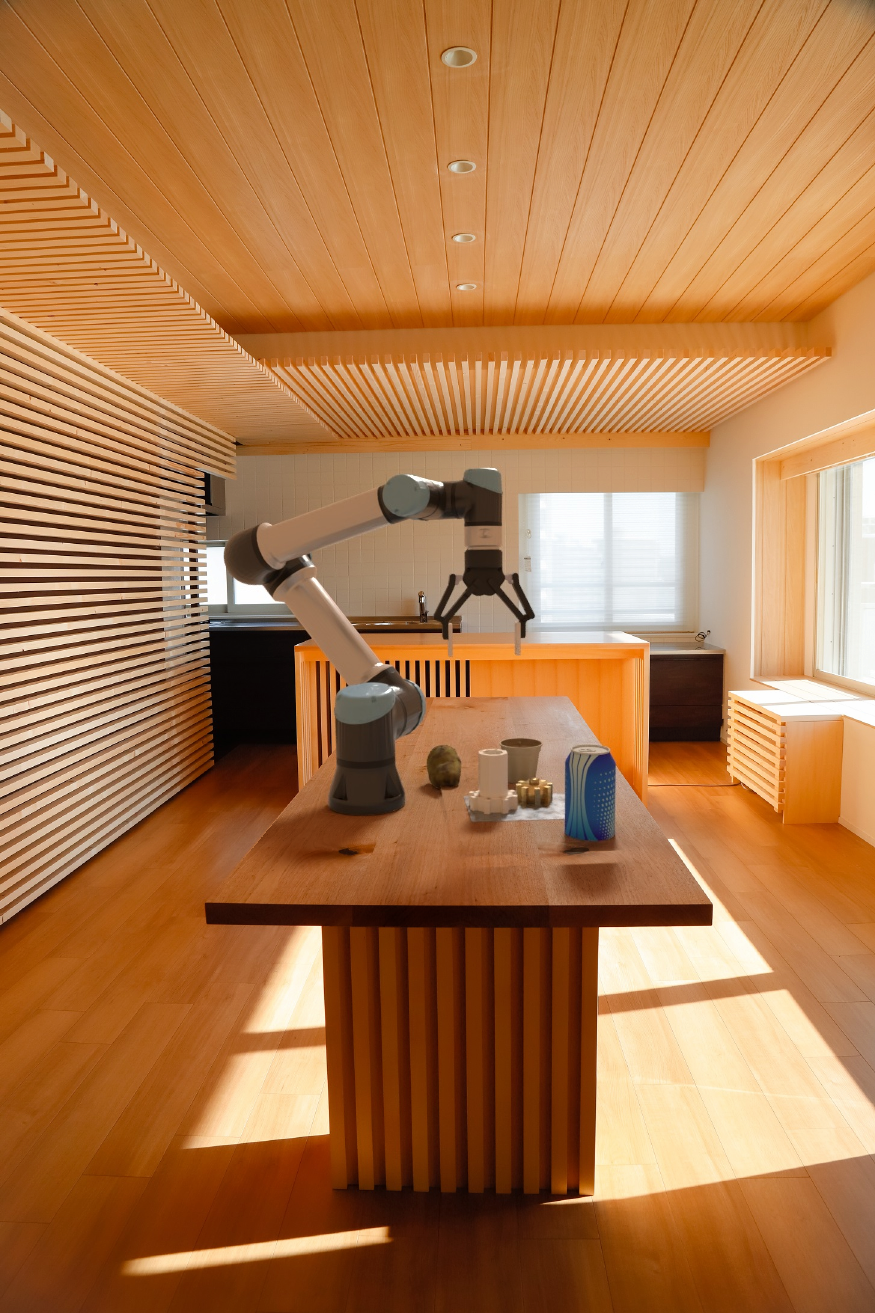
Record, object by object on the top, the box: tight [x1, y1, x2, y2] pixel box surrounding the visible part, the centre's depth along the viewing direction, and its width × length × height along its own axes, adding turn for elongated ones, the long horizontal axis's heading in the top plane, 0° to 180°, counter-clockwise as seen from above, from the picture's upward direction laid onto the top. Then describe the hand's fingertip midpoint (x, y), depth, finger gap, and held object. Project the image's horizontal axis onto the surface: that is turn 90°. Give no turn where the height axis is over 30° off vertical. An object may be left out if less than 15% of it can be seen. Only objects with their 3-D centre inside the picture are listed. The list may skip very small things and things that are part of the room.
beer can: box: [564, 743, 617, 842], centre depth 136 cm, size 8×8×16 cm
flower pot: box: [498, 737, 544, 785], centre depth 174 cm, size 9×9×9 cm
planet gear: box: [468, 748, 518, 814], centre depth 151 cm, size 9×9×10 cm
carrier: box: [462, 777, 565, 823], centre depth 151 cm, size 22×16×6 cm
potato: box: [426, 744, 462, 790], centre depth 171 cm, size 8×13×8 cm, turn 170°
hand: (484, 655), depth 161 cm, fingers open, 13 cm apart
